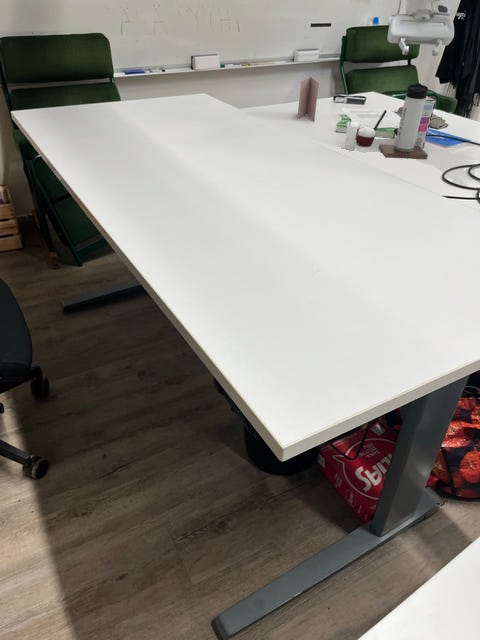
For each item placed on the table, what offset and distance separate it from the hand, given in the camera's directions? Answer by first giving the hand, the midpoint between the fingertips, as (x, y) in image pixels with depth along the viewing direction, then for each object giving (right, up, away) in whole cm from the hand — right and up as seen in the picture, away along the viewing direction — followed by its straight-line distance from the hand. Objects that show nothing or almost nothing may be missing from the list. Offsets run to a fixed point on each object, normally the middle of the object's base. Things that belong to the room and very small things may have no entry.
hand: (420, 53), depth 151 cm
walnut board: (-1, -27, +13) cm, 30 cm away
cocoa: (-12, -22, +19) cm, 32 cm away
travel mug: (-1, -26, +12) cm, 29 cm away
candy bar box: (+5, -21, +22) cm, 31 cm away
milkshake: (-19, -26, +14) cm, 35 cm away
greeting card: (-29, -3, +45) cm, 53 cm away
